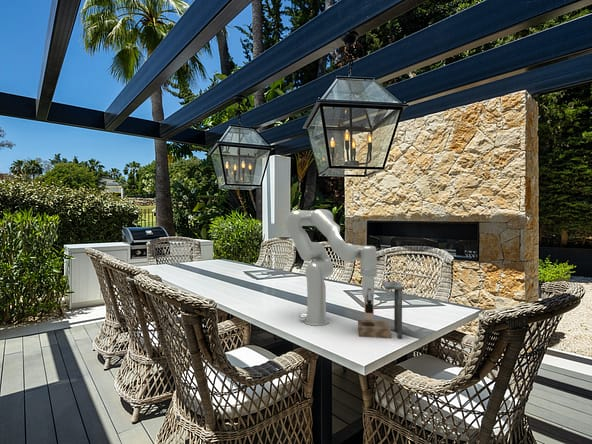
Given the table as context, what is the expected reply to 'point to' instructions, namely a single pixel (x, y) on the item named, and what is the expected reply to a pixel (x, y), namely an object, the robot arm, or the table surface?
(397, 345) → the table surface
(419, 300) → the table surface
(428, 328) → the table surface
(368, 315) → the peg
